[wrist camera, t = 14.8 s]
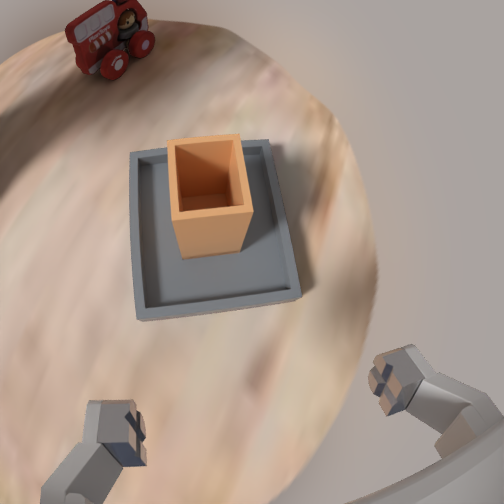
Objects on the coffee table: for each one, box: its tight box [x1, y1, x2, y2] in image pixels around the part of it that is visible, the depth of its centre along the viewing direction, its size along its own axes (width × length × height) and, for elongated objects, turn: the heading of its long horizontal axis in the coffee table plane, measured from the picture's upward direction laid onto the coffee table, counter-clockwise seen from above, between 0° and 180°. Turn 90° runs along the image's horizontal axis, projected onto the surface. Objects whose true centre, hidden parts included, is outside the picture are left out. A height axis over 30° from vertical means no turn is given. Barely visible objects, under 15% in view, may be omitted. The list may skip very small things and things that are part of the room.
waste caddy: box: [167, 134, 254, 260], centre depth 24 cm, size 6×5×9 cm
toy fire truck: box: [65, 0, 155, 80], centre depth 30 cm, size 7×12×10 cm, turn 150°
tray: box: [129, 139, 302, 322], centre depth 28 cm, size 16×14×2 cm
